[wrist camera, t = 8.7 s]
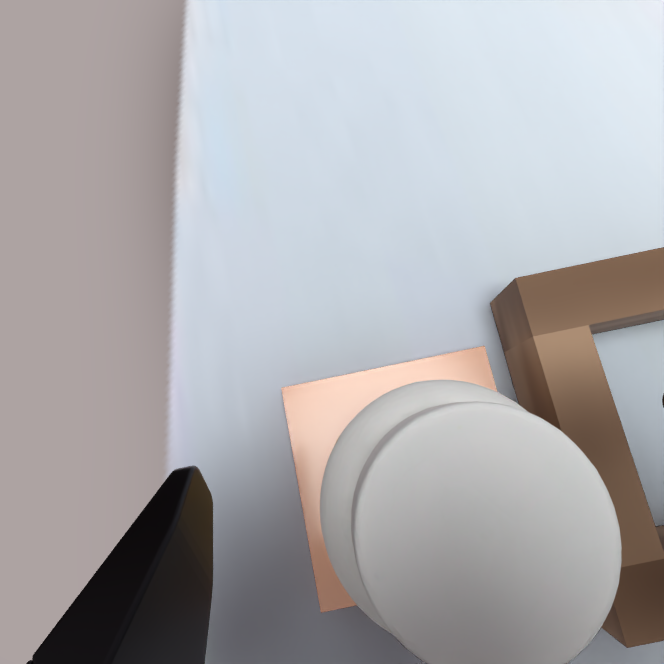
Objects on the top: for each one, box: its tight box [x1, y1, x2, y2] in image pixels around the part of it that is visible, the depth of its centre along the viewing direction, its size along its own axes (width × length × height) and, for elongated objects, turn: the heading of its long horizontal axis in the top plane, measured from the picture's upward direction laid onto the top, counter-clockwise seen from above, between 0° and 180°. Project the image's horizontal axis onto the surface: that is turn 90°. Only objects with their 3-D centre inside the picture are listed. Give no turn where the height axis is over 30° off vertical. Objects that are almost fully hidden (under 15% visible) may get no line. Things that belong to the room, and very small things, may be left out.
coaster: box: [281, 346, 497, 613], centre depth 17 cm, size 8×8×1 cm
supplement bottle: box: [320, 380, 622, 664], centre depth 12 cm, size 5×5×10 cm
